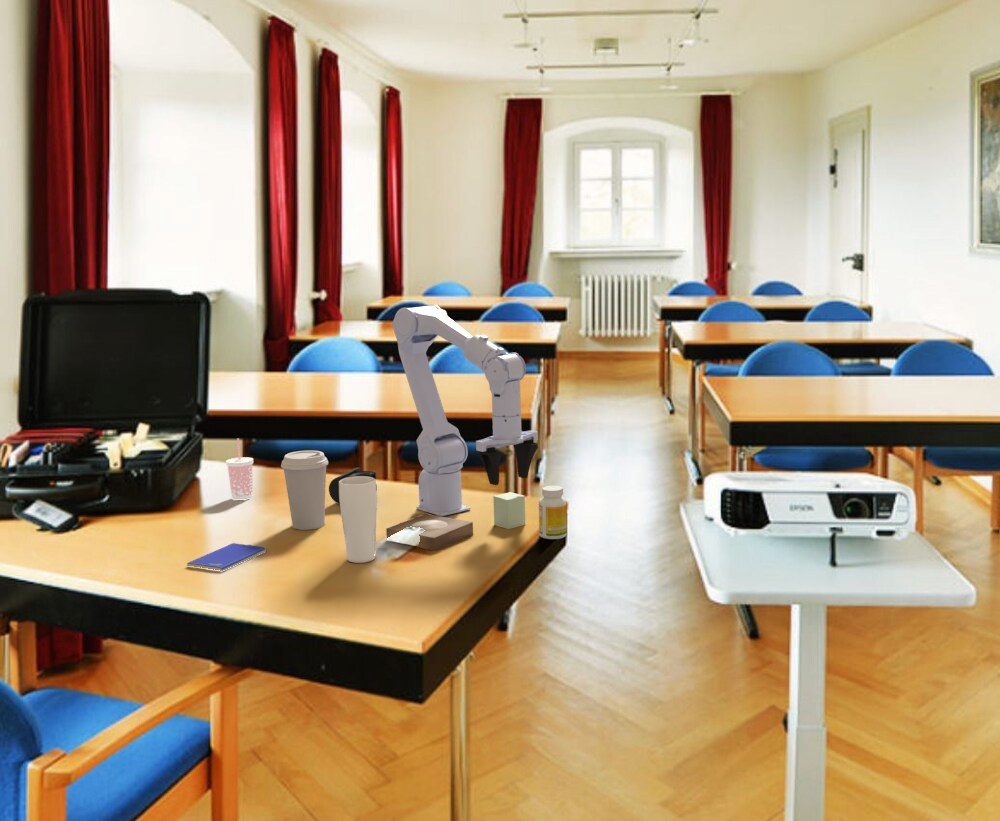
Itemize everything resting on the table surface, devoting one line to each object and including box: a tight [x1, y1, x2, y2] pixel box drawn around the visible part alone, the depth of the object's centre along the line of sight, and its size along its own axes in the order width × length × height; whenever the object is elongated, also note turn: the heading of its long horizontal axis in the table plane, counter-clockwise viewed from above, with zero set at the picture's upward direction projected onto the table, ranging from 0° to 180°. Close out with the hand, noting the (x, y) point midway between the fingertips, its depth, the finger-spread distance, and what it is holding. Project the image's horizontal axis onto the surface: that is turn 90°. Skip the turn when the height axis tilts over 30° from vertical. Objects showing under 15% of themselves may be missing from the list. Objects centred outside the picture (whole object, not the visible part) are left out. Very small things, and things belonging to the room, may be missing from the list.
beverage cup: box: [225, 437, 254, 499], centre depth 233 cm, size 6×6×14 cm
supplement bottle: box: [538, 485, 568, 540], centre depth 198 cm, size 5×5×10 cm
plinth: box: [385, 513, 474, 551], centre depth 199 cm, size 12×12×2 cm
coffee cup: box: [280, 450, 329, 531], centre depth 209 cm, size 10×10×15 cm
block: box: [493, 491, 526, 530], centre depth 207 cm, size 4×4×6 cm
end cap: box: [328, 467, 378, 506], centre depth 228 cm, size 10×7×7 cm
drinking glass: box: [339, 476, 378, 564], centre depth 186 cm, size 7×7×15 cm
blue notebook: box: [186, 542, 267, 571], centre depth 190 cm, size 2×8×12 cm
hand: (508, 480), depth 205 cm, fingers open, 7 cm apart
